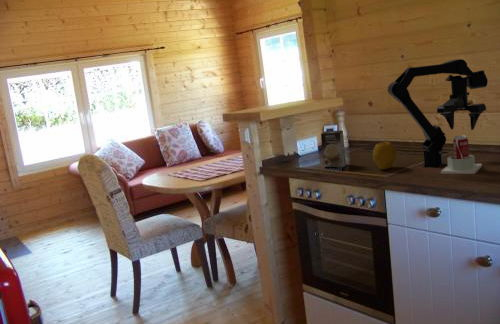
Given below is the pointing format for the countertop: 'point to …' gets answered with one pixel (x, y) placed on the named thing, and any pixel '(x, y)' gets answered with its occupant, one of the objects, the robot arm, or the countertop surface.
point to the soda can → (461, 147)
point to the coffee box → (333, 148)
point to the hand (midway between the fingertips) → (462, 129)
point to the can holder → (461, 166)
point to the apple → (384, 155)
